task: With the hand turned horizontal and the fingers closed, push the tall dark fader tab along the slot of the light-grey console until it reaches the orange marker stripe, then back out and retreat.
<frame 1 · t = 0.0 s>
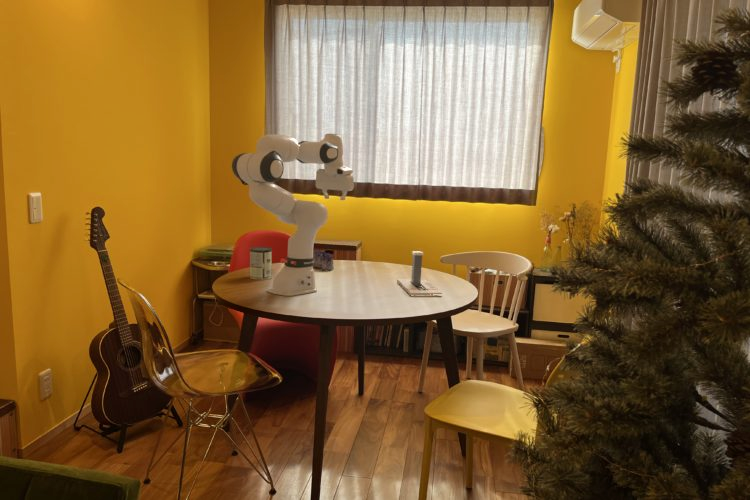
hand: (334, 199, 262), 39 cm above the table, fingers open, 8 cm apart
fader tab: (416, 269, 262), point 8 cm above the table, slide at -5.0 cm
console: (418, 289, 259), on the table
coffee can: (260, 278, 267), on the table
geode: (322, 268, 300), on the table
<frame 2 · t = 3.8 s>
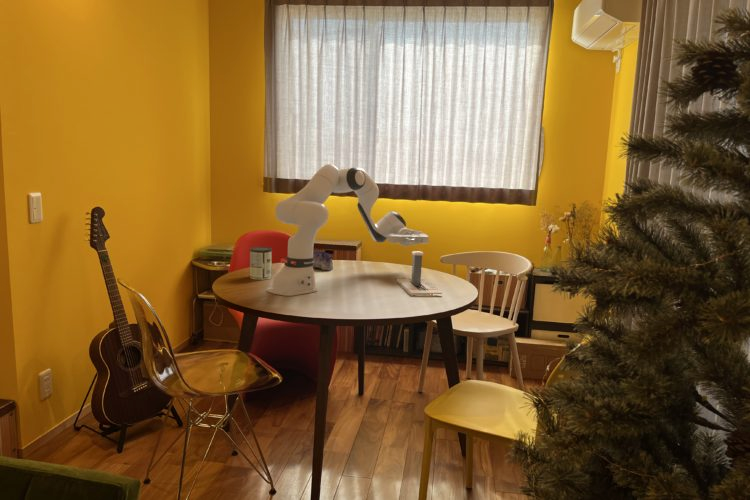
hand: (411, 241, 272), 20 cm above the table, fingers closed
nothing on the table moved.
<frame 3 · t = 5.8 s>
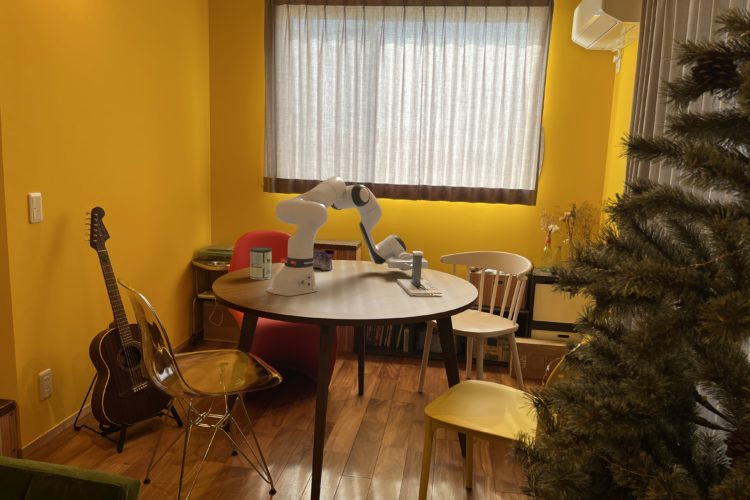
hand: (410, 266, 273), 7 cm above the table, fingers closed
nothing on the table moved.
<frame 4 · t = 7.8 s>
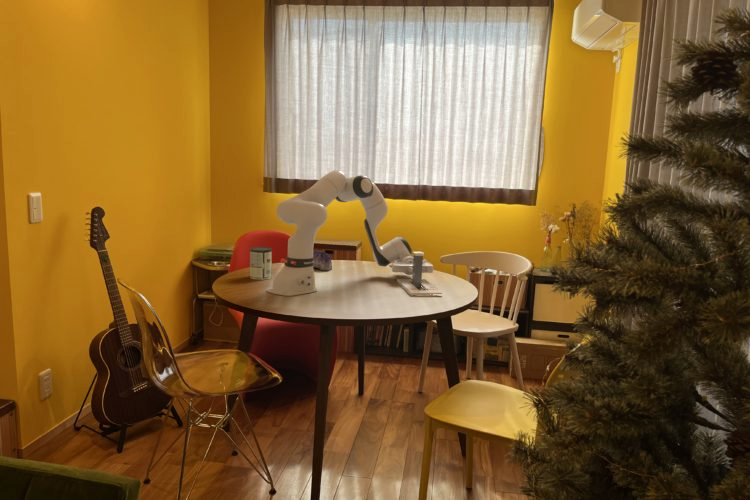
hand: (416, 271, 263), 7 cm above the table, fingers closed, pressing on fader tab
fader tab: (417, 269, 261), point 8 cm above the table, slide at -3.6 cm, touching gripper
everything else where it was.
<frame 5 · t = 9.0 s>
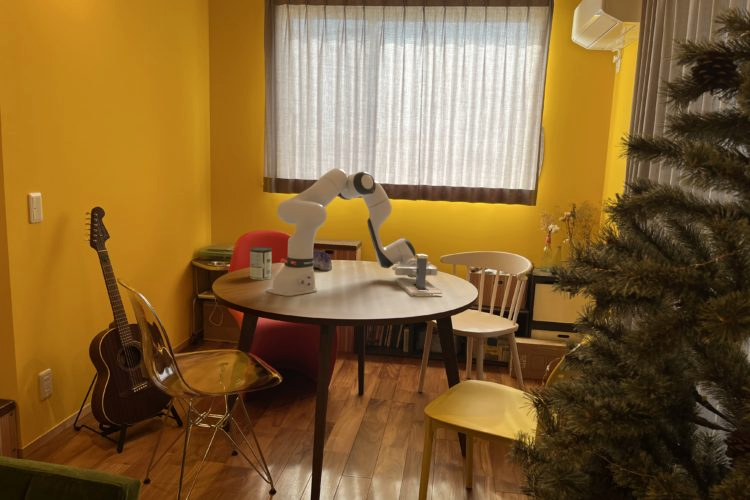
hand: (419, 273, 256), 7 cm above the table, fingers closed, pressing on fader tab
fader tab: (421, 272, 255), point 8 cm above the table, slide at 3.1 cm, touching gripper
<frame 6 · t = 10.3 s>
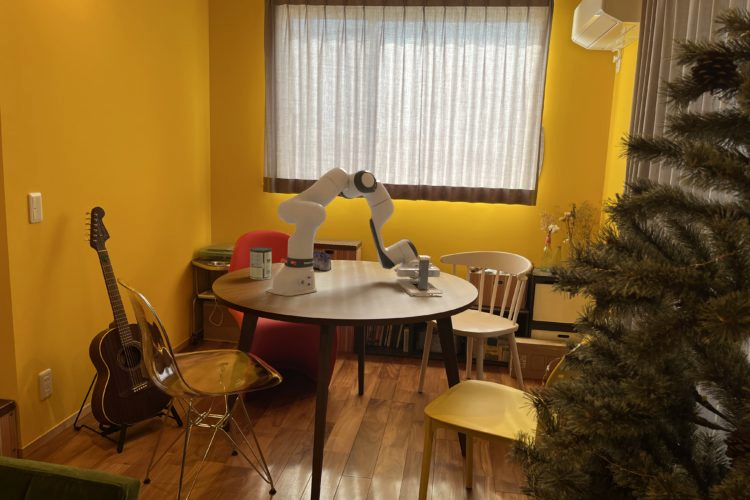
hand: (422, 275, 253), 7 cm above the table, fingers closed, pressing on fader tab
fader tab: (423, 274, 251), point 8 cm above the table, slide at 7.0 cm, touching gripper
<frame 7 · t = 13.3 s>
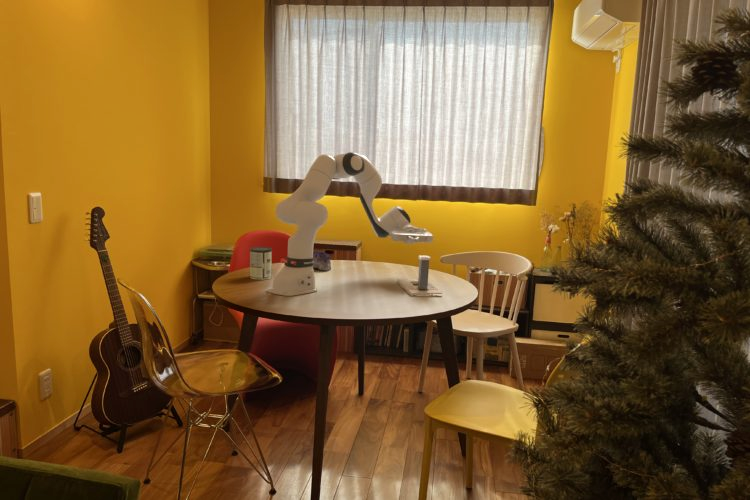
hand: (415, 240, 261), 22 cm above the table, fingers closed
fader tab: (423, 274, 251), point 8 cm above the table, slide at 7.1 cm
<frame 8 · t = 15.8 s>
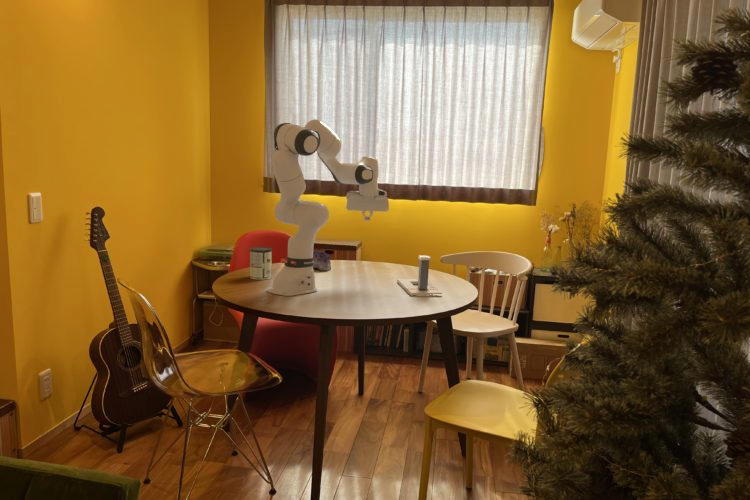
hand: (367, 220, 268), 29 cm above the table, fingers closed
at the end: fader tab slide at 7.1 cm; the gripper is holding nothing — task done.
